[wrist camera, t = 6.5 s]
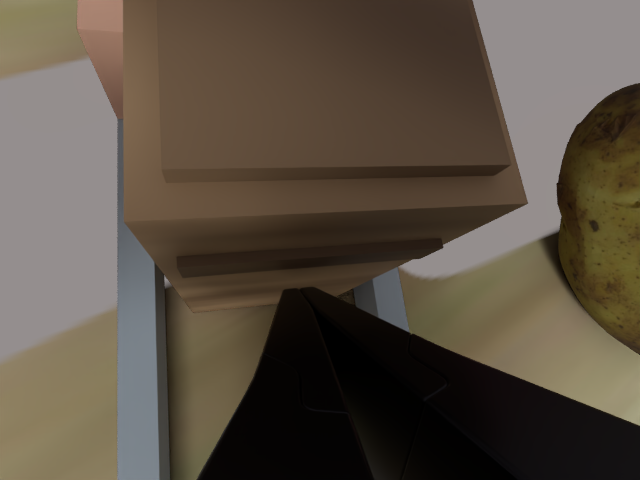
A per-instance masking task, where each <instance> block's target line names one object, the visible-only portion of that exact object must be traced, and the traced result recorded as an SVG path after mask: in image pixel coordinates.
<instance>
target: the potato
mask: <svg viewBox="0 0 640 480" xmlns="http://www.w3.org/2000/svg"><path fill="white" fill-rule="evenodd" d="M557 199H558V201H557V202H558V206H559V209H560V213H561V216H562V217H561V224H560V231H559V241H558V252H559V257H560V261H561V265H562V267H563V270H564V273H565V275H566V277H567V279H568V281H569V283H570V285H571V288H572V290H573V291H574V293H575V295H576V296H577V298H578V300H579V301H580V302H581V304H582V305H583V307H584V308H585V310H586V311H587V312H588V313H589V314H590V315H591V317H592V318H593V319H594V320H595V321H596V322H597V323H598V324H599V325H600V326H601V327H602V328H603V329H604V330H605V331H606V332H608V333H609V334H610V335H611V336H613V337H614V338H615V339H617V340H618V341H620V342H621V343H623V344H624V345H626V346H627V347H629V348H630V349H632V350H633V351H635V352H636V353H638V354H639V355H640V83H638V84H634V85H630V86H627V87H624V88H622V89H620V90H618V91H615V92H613V93H612V94H610V95H609V96H607V97H606V98H604V99H603V100H602V101H601V102H599V103H598V104H597V105H596V106H595V107H594V108H593V109H592V110H591V111H590V112H589V114H588V115H587V116H586V117H585V118H584V119H583V121H582V122H581V123H579V124H578V125H577V126H576V128H575V130H574V132H573V133H572V135H571V137H570V140H569V142H568V144H567V148H566V151H565V154H564V157H563V160H562V165H561V170H560V174H559V181H558V183H557Z"/></svg>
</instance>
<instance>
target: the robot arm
mask: <svg viewBox="0 0 640 480" xmlns="http://www.w3.org/2000/svg"><path fill="white" fill-rule="evenodd" d="M197 480H640V426H639V425H636V424H634V423H631V422H629V421H626V420H624V419H621V418H619V417H616V416H614V415H611V414H609V413H606V412H603V411H601V410H598V409H596V408H593V407H591V406H588V405H586V404H583V403H581V402H578V401H576V400H573V399H571V398H568V397H566V396H563V395H561V394H558V393H555V392H553V391H550V390H548V389H545V388H543V387H540V386H538V385H535V384H533V383H530V382H528V381H525V380H523V379H520V378H518V377H515V376H513V375H510V374H507V373H505V372H502V371H500V370H497V369H495V368H492V367H490V366H487V365H485V364H482V363H480V362H477V361H475V360H472V359H470V358H467V357H465V356H462V355H460V354H457V353H455V352H452V351H450V350H448V349H445V348H443V347H441V346H439V345H436V344H434V343H432V342H430V341H428V340H425V339H423V338H421V337H419V336H417V335H415V334H411V333H410V332H408V331H406V330H403V329H401V328H399V327H397V326H395V325H393V324H391V323H389V322H387V321H385V320H383V319H381V318H378V317H376V316H374V315H372V314H370V313H368V312H366V311H364V310H362V309H360V308H358V307H356V306H354V305H351V304H349V303H347V302H345V301H343V300H341V299H339V298H337V297H335V296H333V295H331V294H329V293H326V292H324V291H322V290H320V289H318V288H316V287H313V286H312V287H302V288H300V289H298V288H291V289H284V290H283V291H282V294H281V297H280V300H279V303H278V306H277V309H276V312H275V315H274V318H273V321H272V324H271V327H270V330H269V334H268V337H267V340H266V343H265V346H264V349H263V352H262V355H261V357H260V360H259V363H258V366H257V368H256V371H255V373H254V376H253V379H252V381H251V383H250V385H249V387H248V389H247V391H246V393H245V395H244V396H243V398H242V400H241V402H240V404H239V405H238V407H237V409H236V411H235V412H234V414H233V416H232V418H231V419H230V421H229V423H228V425H227V427H226V428H225V430H224V432H223V434H222V435H221V437H220V439H219V441H218V442H217V444H216V446H215V448H214V450H213V451H212V453H211V455H210V457H209V458H208V460H207V462H206V464H205V465H204V467H203V469H202V471H201V473H200V474H199V476H198V478H197Z"/></svg>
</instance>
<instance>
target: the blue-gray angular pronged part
mask: <svg viewBox="0 0 640 480" xmlns="http://www.w3.org/2000/svg"><path fill="white" fill-rule="evenodd" d="M77 30H78V32H79V34H80V37H81V39H82V41H83V43H84V46H85V48H86V50H87V52H88V54H89V57H90V59H91V61H92V63H93V65H94V68H95V70H96V72H97V74H98V77H99V79H100V81H101V83H102V85H103V88H104V90H105V92H106V94H107V96H108V99H109V101H110V103H111V105H112V107H113V109H114V112H115V114H116V116H117V118H118V480H170V457H169V423H168V389H167V355H166V321H165V287H164V274H163V273H162V271H161V270H160V269H159V267H158V266H157V265H156V263H155V262H154V261H153V259H152V258H151V257H150V255H149V254H148V253H147V252H146V250H145V249H144V248H143V246H142V245H141V244H140V242H139V241H138V240H137V238H136V237H135V236H134V234H133V233H132V232H131V231H130V229H129V228H128V227H127V225H126V224H125V223H124V161H123V0H78V12H77ZM353 291H354V298H355V305H356V307H358V308H360V309H362V310H364V311H366V312H368V313H370V314H372V315H374V316H376V317H378V318H381V319H383V320H385V321H387V322H389V323H391V324H393V325H395V326H397V327H399V328H401V329H403V330H406V331H408V332H409V327H408V322H407V316H406V310H405V305H404V299H403V294H402V288H401V283H400V277H399V271H398V267H396V268H394V269H392V270H390V271H388V272H386V273H384V274H382V275H379V276H377V277H375V278H373V279H371V280H369V281H367V282H365V283H363V284H361V285H359V286H357V287H355V288H353Z"/></svg>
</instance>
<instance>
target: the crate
mask: <svg viewBox="0 0 640 480" xmlns="http://www.w3.org/2000/svg"><path fill="white" fill-rule="evenodd" d="M123 161H124V223H125V224H126V225H127V227H128V228H129V229H130V231H131V232H132V233H133V234H134V236H135V237H136V238H137V240H138V241H139V242H140V244H141V245H142V246H143V248H144V249H145V250H146V252H147V253H148V254H149V255H150V257H151V258H152V259H153V261H154V262H155V263H156V265H157V266H158V267H159V269H160V270H161V271H162V273H163V274H164V275H165V276H166V278H167V279H168V280H169V282H170V283H171V284H172V286H173V287H174V288H175V290H176V291H177V292H178V293H179V295H180V296H181V297H182V299H183V300H184V301H185V303H186V304H187V305H188V307H189V308H190V309H191V311H192V312H193V313H196V312H206V311H215V310H225V309H234V308H244V307H253V306H263V305H272V304H278V303H279V300H280V297H281V294H282V291H283V290H284V289H291V288H298V289H300V288H302V287H312V286H313V287H316V288H318V289H320V290H322V291H324V292H326V293H329V294H331V295H333V296H335V297H336V296H338V295H340V294H342V293H344V292H346V291H349V290H351V289H353V288H355V287H357V286H359V285H361V284H363V283H365V282H367V281H369V280H371V279H373V278H375V277H377V276H379V275H382V274H384V273H386V272H388V271H390V270H392V269H394V268H396V267H398V266H400V265H402V264H404V263H406V262H408V261H410V260H412V259H420V258H423V257H425V256H427V255H429V254H431V253H433V252H435V251H437V250H440V249H442V248H443V244H445V243H448V242H450V241H452V240H454V239H456V238H458V237H460V236H462V235H464V234H466V233H468V232H470V231H472V230H474V229H476V228H478V227H481V226H483V225H485V224H487V223H489V222H491V221H493V220H495V219H497V218H499V217H501V216H503V215H505V214H507V213H509V212H511V211H514V210H515V209H518V208H520V207H522V206H524V205H526V204H528V202H527V198H526V195H525V191H524V187H523V184H522V180H521V176H520V173H519V169H518V166H517V162H516V159H515V154H514V151H513V147H512V144H511V140H510V136H509V133H508V129H507V125H506V122H505V118H504V114H503V111H502V107H501V103H500V100H499V96H498V92H497V89H496V85H495V82H494V78H493V74H492V70H491V67H490V63H489V60H488V56H487V52H486V49H485V45H484V42H483V38H482V34H481V31H480V27H479V23H478V19H477V16H476V12H475V8H474V5H473V1H472V0H123Z"/></svg>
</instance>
